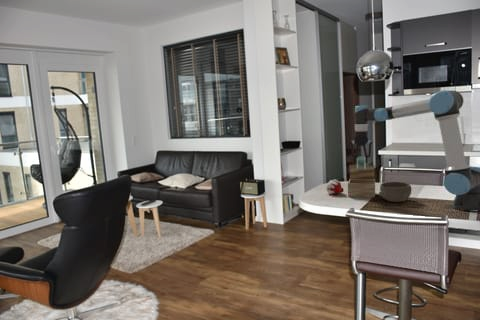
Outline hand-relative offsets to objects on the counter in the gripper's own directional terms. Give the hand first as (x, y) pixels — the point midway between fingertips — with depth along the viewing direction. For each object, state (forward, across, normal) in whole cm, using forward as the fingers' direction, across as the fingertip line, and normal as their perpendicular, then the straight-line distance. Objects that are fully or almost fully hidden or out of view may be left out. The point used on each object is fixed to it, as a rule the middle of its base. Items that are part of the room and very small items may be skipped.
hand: (361, 168), depth 246 cm
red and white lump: (+19, +17, -6) cm, 26 cm away
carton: (+18, 0, -6) cm, 19 cm away
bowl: (+19, -20, +5) cm, 28 cm away
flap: (+3, 0, -4) cm, 5 cm away
